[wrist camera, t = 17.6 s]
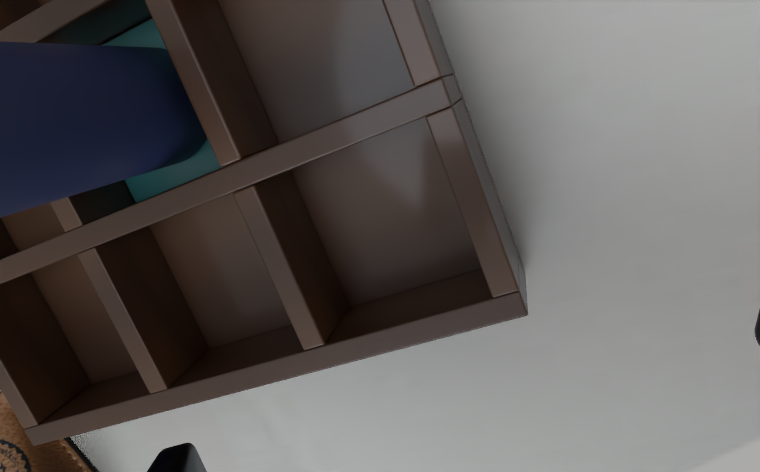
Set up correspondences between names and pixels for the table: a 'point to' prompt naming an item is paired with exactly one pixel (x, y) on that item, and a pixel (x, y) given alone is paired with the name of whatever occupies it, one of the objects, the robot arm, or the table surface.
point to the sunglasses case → (35, 449)
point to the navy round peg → (87, 119)
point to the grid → (255, 214)
